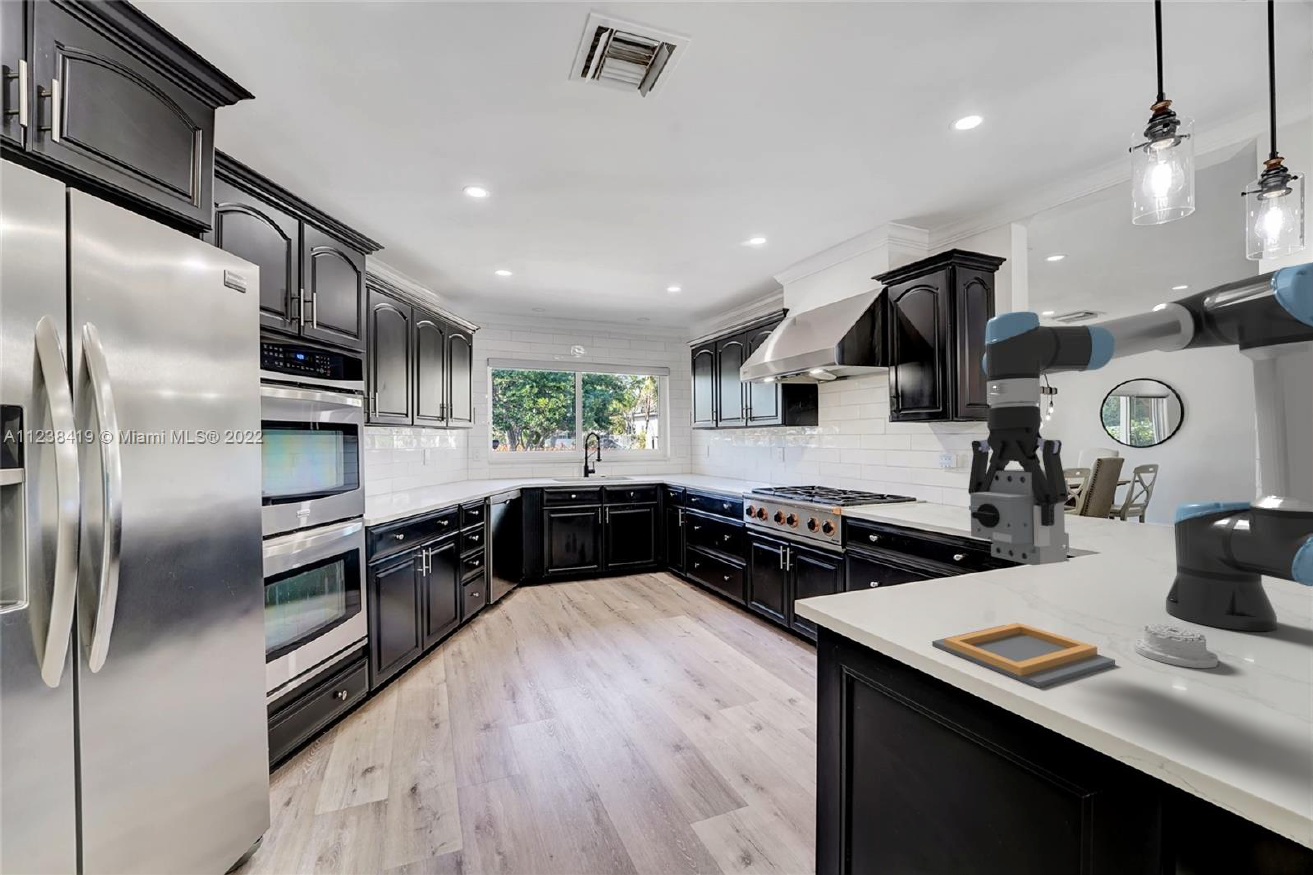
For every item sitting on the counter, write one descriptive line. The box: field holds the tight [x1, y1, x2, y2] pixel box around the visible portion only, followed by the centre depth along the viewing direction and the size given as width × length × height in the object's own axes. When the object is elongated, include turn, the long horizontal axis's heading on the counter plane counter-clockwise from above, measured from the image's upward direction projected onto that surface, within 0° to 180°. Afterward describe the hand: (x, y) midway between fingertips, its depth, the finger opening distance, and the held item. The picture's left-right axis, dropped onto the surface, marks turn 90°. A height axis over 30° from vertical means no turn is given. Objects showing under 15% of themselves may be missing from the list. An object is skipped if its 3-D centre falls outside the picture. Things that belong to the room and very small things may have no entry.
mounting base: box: [931, 622, 1116, 689], centre depth 91 cm, size 19×18×2 cm
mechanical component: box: [1133, 623, 1219, 669], centre depth 89 cm, size 10×4×10 cm
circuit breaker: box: [968, 468, 1070, 566], centre depth 91 cm, size 8×14×15 cm, turn 107°
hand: (1015, 541), depth 91 cm, fingers closed on circuit breaker, 8 cm apart
